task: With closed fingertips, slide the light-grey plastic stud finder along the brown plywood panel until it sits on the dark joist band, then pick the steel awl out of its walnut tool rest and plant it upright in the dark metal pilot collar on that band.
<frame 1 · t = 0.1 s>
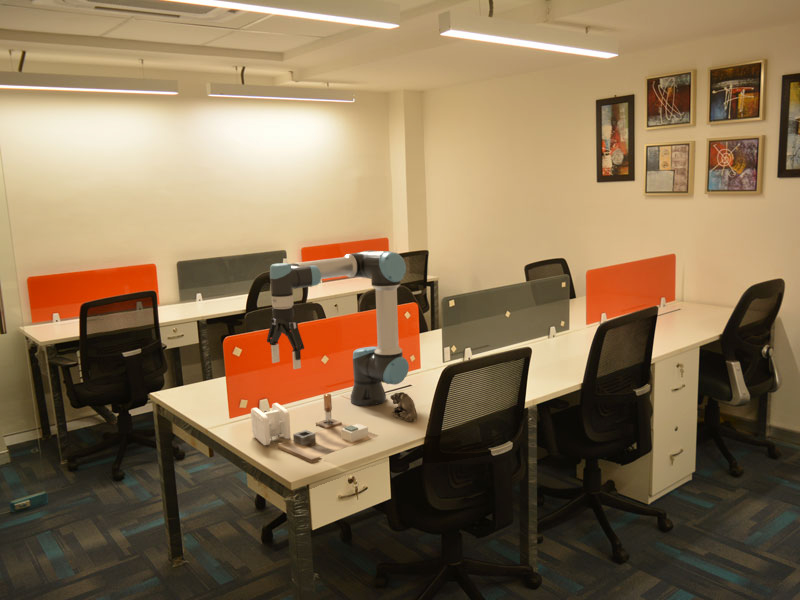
hand: (286, 365, 248), 28 cm above the table, fingers open, 13 cm apart
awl: (328, 411, 262), in the tool rest
cable organizer: (271, 440, 253), on the table
stud finder: (354, 437, 249), point 1 cm above the table, touching plywood panel
plywood panel: (329, 443, 247), on the table
figurine: (405, 418, 272), on the table
tool rest: (329, 427, 264), on the table
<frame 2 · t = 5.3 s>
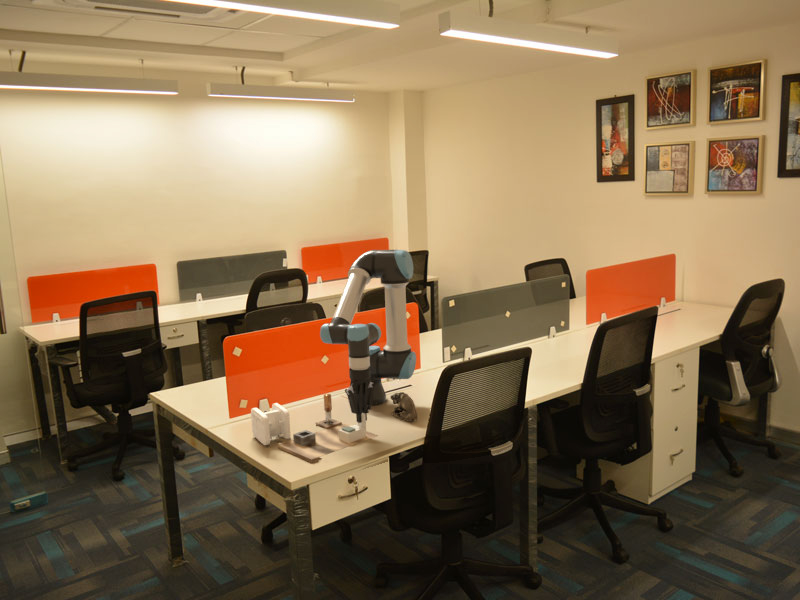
hand: (362, 430, 251), 3 cm above the table, fingers closed
stud finder: (352, 438, 248), point 1 cm above the table, touching gripper
everything else where it was.
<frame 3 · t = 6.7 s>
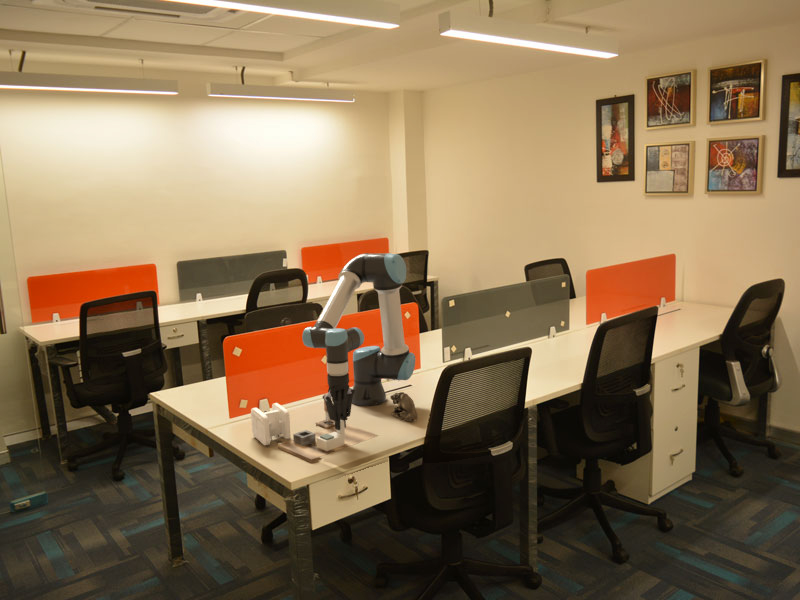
hand: (341, 437, 244), 3 cm above the table, fingers closed
stud finder: (330, 446, 241), point 1 cm above the table, touching plywood panel
everything else where it was.
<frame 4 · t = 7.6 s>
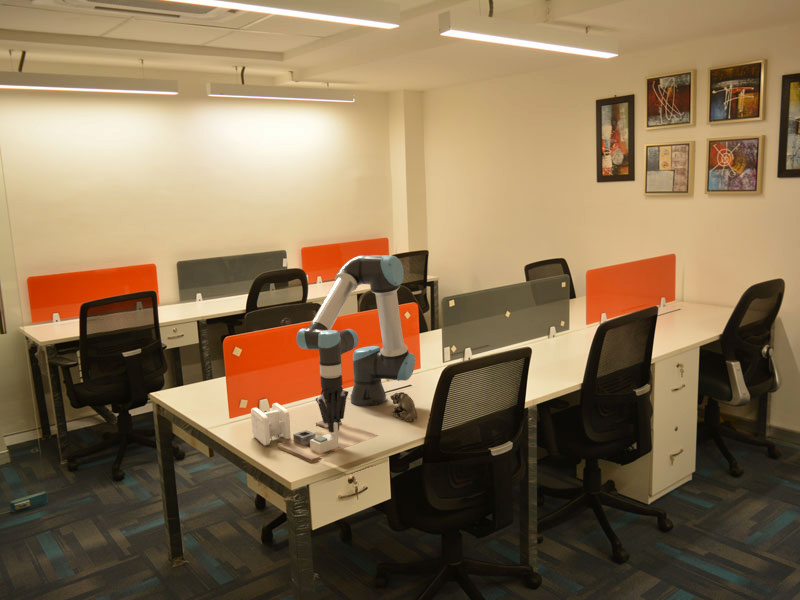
hand: (334, 440, 242), 3 cm above the table, fingers closed
stud finder: (324, 448, 239), point 1 cm above the table, touching gripper, plywood panel
everything else where it was.
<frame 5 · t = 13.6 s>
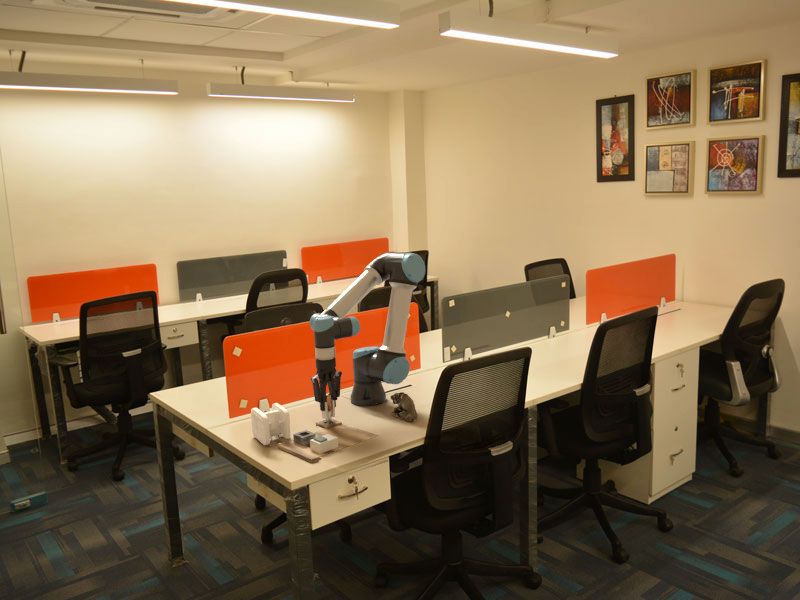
hand: (328, 417, 263), 4 cm above the table, fingers closed on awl, 3 cm apart
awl: (328, 411, 262), in the tool rest, touching gripper
stud finder: (324, 448, 239), point 1 cm above the table, touching plywood panel
everything else where it was.
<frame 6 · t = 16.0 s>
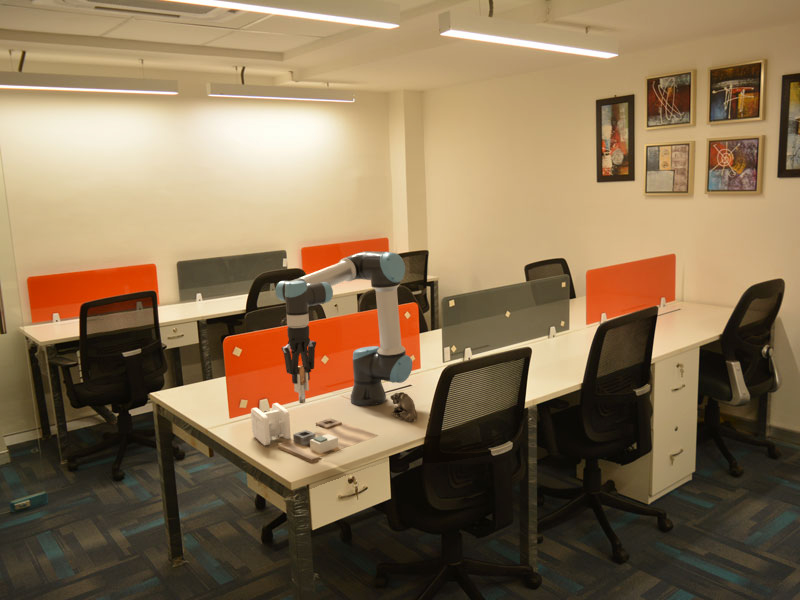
hand: (301, 390, 243), 20 cm above the table, fingers closed on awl, 3 cm apart
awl: (301, 384, 243), point 22 cm above the table, touching gripper
everything else where it was.
when the fingers open (6 cm above the table, at t = 18.7 s): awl stays where it is, resting on plywood panel.
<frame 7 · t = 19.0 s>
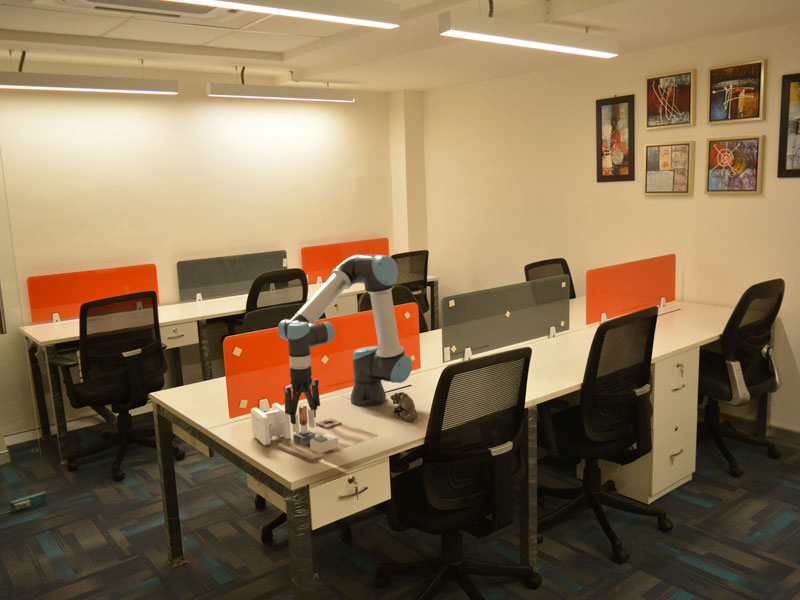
hand: (304, 429, 245), 6 cm above the table, fingers open, 6 cm apart
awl: (303, 424, 245), in the plywood panel, point 8 cm above the table
everything else where it was.
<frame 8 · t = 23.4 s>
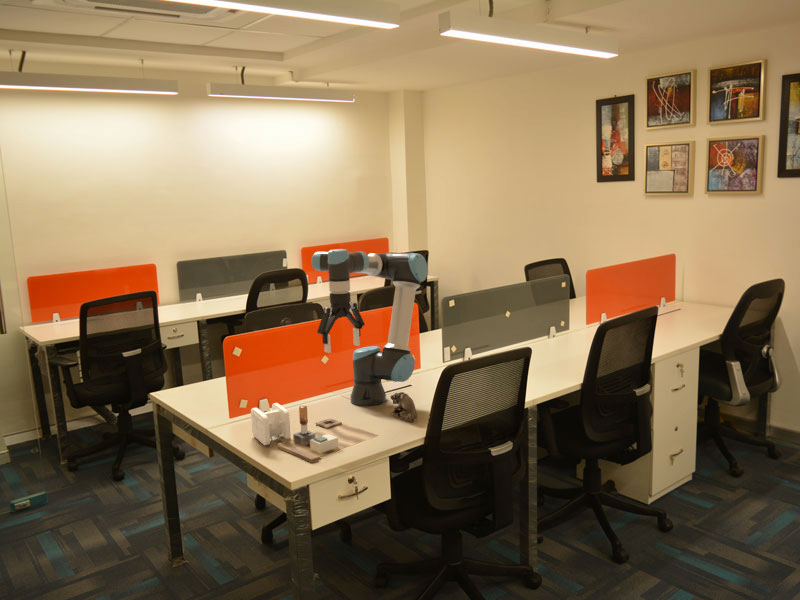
hand: (342, 349, 254), 32 cm above the table, fingers open, 13 cm apart
nothing on the table moved.
at the end: stud finder inside the target area (1.1 cm from its centre), point 1.2 cm above the table; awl 0.0 cm from the target spot, point 7.7 cm above the table; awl tilted 0° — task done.
